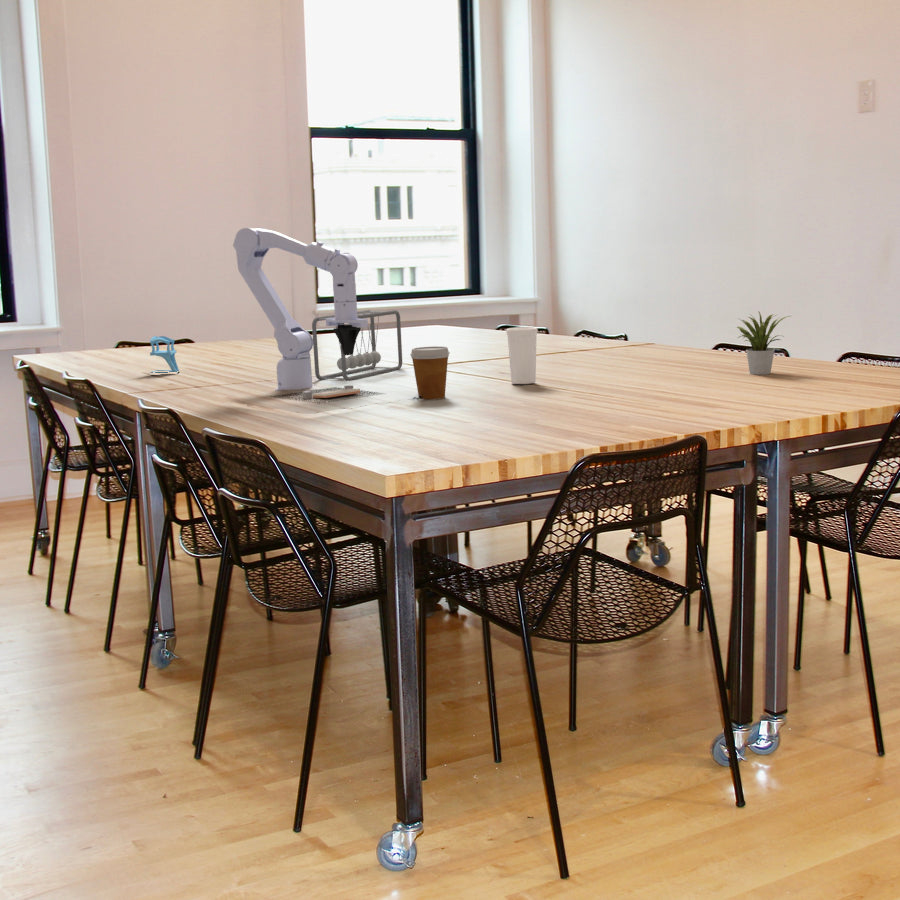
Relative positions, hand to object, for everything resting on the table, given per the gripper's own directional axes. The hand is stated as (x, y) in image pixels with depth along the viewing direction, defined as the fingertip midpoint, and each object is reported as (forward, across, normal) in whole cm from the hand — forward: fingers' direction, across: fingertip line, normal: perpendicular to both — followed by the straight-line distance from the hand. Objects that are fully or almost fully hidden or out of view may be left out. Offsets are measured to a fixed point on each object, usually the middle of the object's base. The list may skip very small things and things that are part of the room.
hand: (348, 354), depth 284 cm
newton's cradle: (+10, -26, +25) cm, 37 cm away
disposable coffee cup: (+10, +28, +2) cm, 30 cm away
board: (+9, +6, -12) cm, 17 cm away
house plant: (+10, +74, +77) cm, 108 cm away
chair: (+10, -86, -4) cm, 87 cm away
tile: (+8, +7, -12) cm, 17 cm away
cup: (+10, +31, +32) cm, 46 cm away
